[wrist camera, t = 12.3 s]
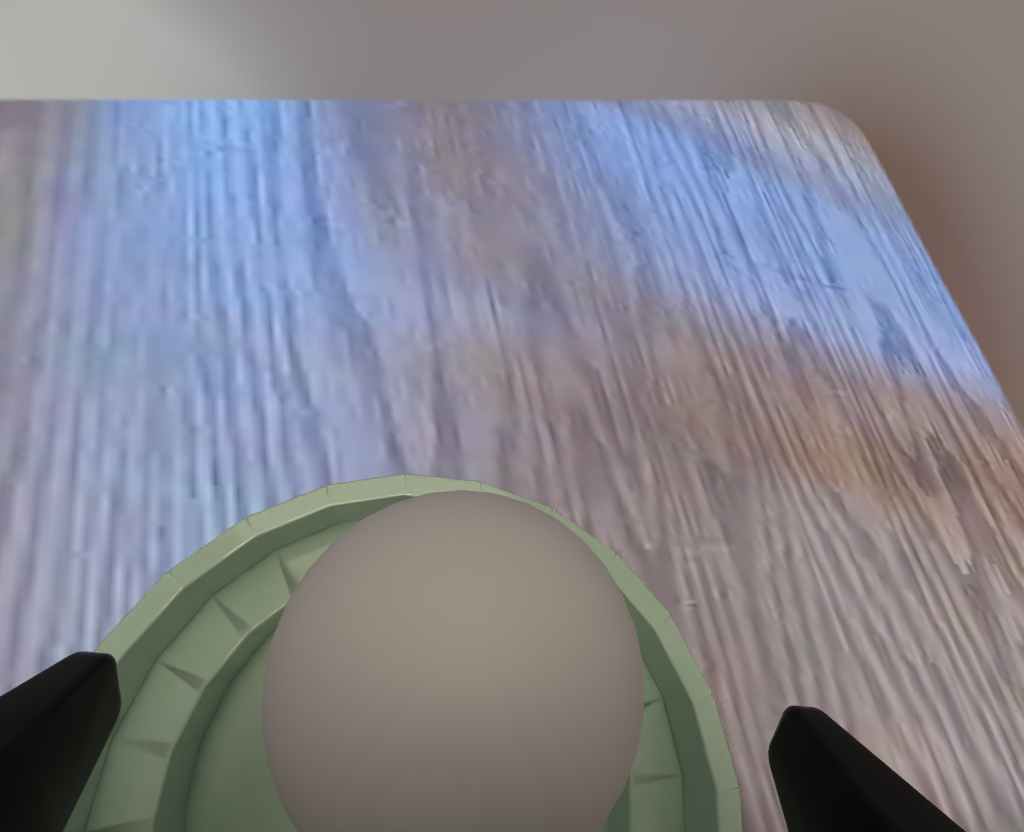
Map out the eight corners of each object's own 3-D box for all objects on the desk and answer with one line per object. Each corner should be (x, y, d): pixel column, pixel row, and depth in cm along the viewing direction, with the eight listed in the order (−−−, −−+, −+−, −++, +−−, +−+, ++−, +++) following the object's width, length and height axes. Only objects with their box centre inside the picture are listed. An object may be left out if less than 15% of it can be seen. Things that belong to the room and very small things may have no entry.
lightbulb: (531, 803, 16) (706, 1060, 6) (311, 765, 16) (97, 968, 6) (561, 578, 18) (721, 488, 8) (370, 541, 18) (296, 400, 8)
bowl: (737, 1040, 15) (853, 1186, 11) (90, 1276, 12) (-82, 1593, 8) (599, 482, 20) (642, 439, 16) (124, 556, 18) (30, 526, 13)
